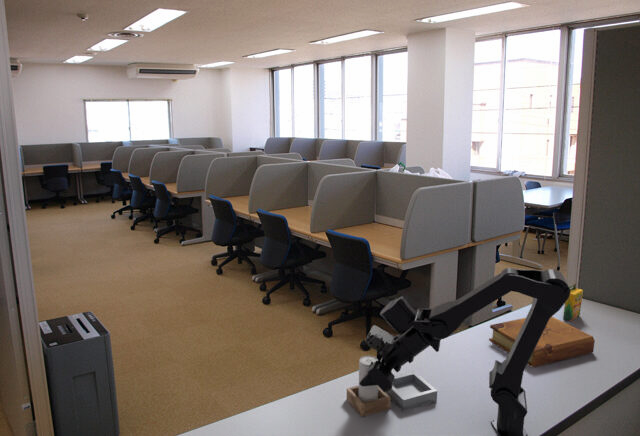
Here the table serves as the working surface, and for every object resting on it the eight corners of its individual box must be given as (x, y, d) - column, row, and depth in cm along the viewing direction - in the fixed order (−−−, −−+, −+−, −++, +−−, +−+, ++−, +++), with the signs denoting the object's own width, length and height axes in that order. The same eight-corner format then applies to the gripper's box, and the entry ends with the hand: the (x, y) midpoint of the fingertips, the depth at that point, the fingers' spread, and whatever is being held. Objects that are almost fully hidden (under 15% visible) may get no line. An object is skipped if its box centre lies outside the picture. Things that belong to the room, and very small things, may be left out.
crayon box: (571, 321, 171) (575, 289, 168) (562, 319, 173) (566, 287, 171) (580, 315, 176) (584, 284, 173) (571, 313, 178) (575, 282, 175)
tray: (436, 401, 126) (437, 390, 125) (403, 411, 122) (403, 400, 122) (414, 381, 135) (414, 371, 134) (382, 389, 131) (382, 379, 130)
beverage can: (365, 395, 129) (366, 353, 126) (381, 402, 126) (382, 359, 123) (354, 404, 125) (355, 361, 122) (370, 411, 122) (371, 367, 119)
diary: (533, 370, 142) (535, 352, 140) (488, 341, 159) (490, 325, 157) (593, 354, 150) (595, 336, 149) (544, 329, 167) (546, 312, 165)
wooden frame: (390, 408, 123) (390, 397, 123) (361, 416, 120) (361, 405, 119) (374, 391, 130) (374, 381, 130) (346, 399, 127) (346, 388, 127)
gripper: (393, 304, 127) (350, 338, 133) (377, 336, 110) (330, 373, 116) (423, 337, 127) (379, 369, 133) (412, 374, 109) (362, 410, 115)
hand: (363, 379), depth 124 cm, fingers closed on beverage can, 5 cm apart
